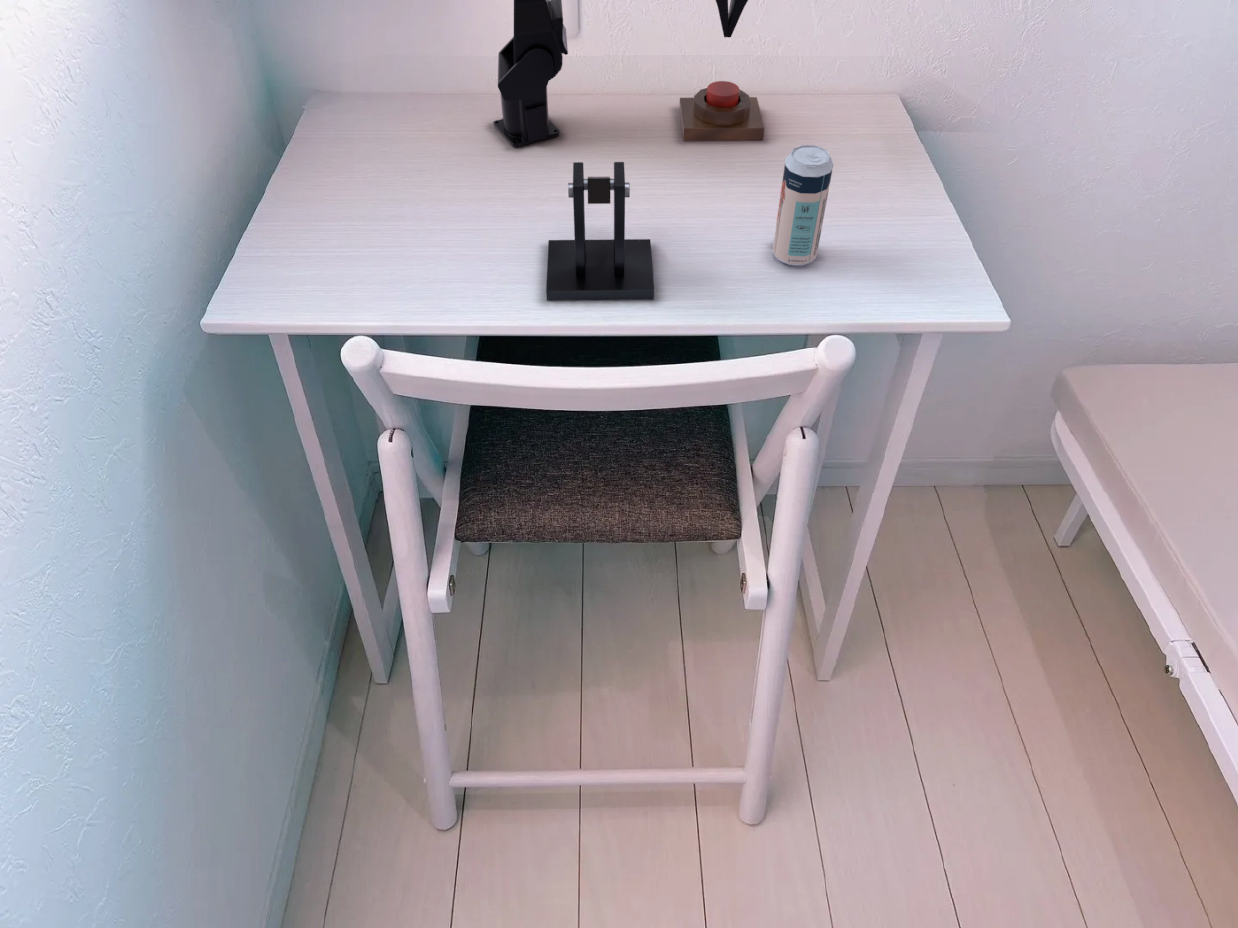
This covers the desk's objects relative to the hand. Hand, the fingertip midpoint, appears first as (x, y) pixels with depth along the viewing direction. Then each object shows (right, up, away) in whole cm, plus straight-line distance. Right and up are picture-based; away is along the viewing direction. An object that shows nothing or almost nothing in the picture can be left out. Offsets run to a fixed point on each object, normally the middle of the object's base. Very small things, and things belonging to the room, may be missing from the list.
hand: (727, 36), depth 117 cm
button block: (0, -8, +8) cm, 11 cm away
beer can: (+6, -29, -11) cm, 31 cm away
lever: (-15, -24, -16) cm, 32 cm away
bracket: (-15, -31, -13) cm, 37 cm away
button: (0, -6, +6) cm, 8 cm away
